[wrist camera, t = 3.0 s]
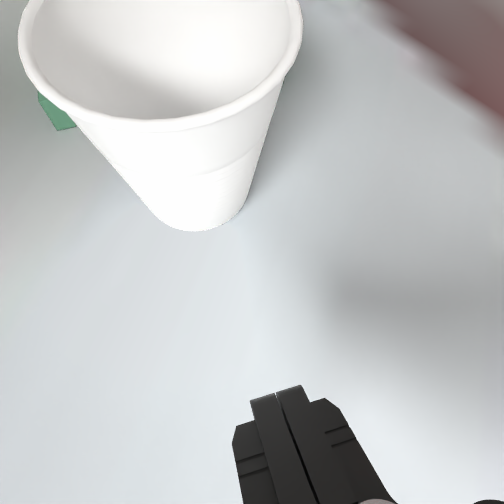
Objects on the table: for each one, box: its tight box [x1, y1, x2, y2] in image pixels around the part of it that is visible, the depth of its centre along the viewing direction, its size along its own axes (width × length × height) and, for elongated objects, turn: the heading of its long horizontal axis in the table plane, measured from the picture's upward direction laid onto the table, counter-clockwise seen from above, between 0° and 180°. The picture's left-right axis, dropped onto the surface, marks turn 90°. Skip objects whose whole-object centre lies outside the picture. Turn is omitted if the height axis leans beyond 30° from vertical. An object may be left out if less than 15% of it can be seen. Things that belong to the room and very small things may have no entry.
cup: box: [18, 0, 303, 231], centre depth 19 cm, size 10×10×11 cm
